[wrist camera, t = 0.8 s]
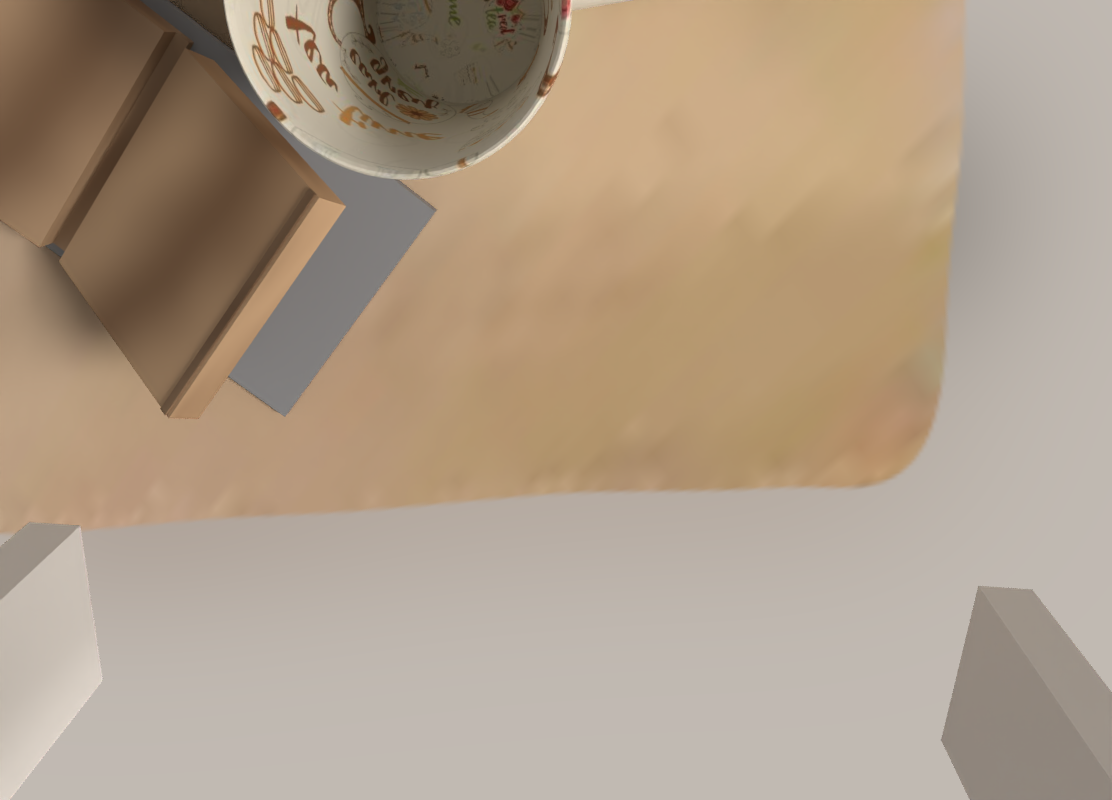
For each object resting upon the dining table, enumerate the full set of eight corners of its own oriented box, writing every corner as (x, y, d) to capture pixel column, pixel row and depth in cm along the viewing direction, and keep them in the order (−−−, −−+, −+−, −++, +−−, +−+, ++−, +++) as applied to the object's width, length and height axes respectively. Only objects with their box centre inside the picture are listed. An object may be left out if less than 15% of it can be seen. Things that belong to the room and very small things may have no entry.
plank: (89, 267, 35) (56, 261, 34) (214, 60, 32) (183, 47, 31) (198, 418, 32) (167, 418, 31) (346, 206, 29) (317, 197, 28)
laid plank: (-83, 138, 34) (-110, 142, 33) (30, -85, 31) (6, -91, 30) (71, 249, 35) (51, 256, 34) (194, 42, 32) (177, 41, 31)
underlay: (-81, 149, 34) (-89, 150, 34) (44, -97, 31) (37, -99, 31) (288, 412, 37) (284, 416, 37) (436, 209, 34) (434, 211, 34)
